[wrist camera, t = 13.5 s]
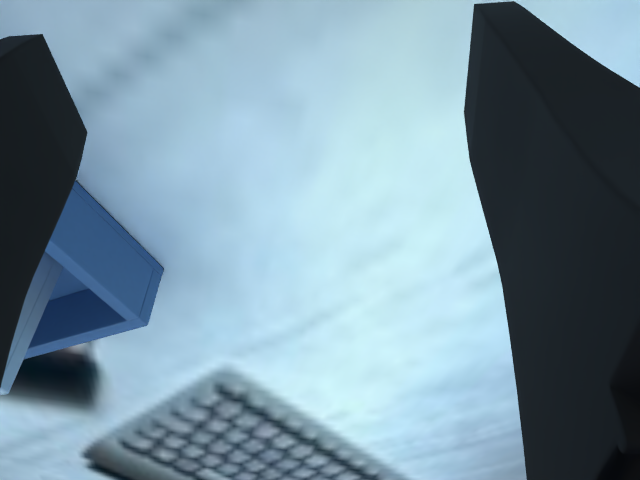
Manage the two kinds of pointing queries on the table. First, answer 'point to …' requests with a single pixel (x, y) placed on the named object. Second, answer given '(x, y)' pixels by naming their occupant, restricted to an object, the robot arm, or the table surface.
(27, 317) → the pale blue bin
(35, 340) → the steel blue bin
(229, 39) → the table surface
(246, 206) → the table surface
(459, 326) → the table surface
